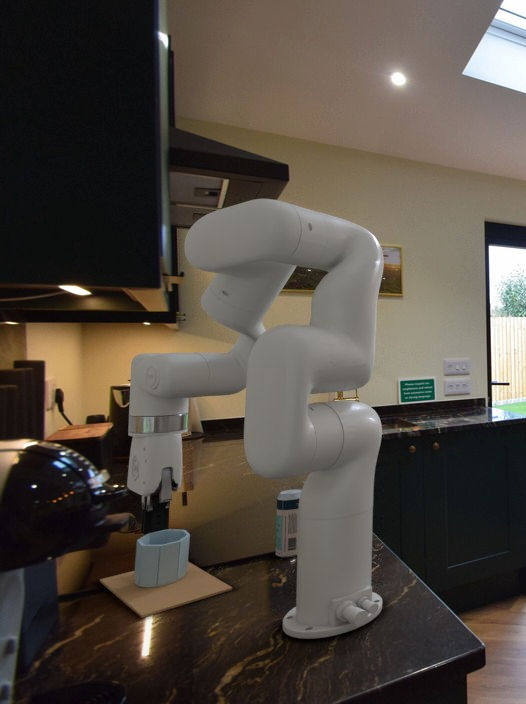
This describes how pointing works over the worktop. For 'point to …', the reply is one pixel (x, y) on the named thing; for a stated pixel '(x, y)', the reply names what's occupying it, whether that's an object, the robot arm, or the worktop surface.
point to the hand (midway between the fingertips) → (154, 531)
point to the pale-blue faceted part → (161, 557)
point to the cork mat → (165, 591)
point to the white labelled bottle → (287, 523)
